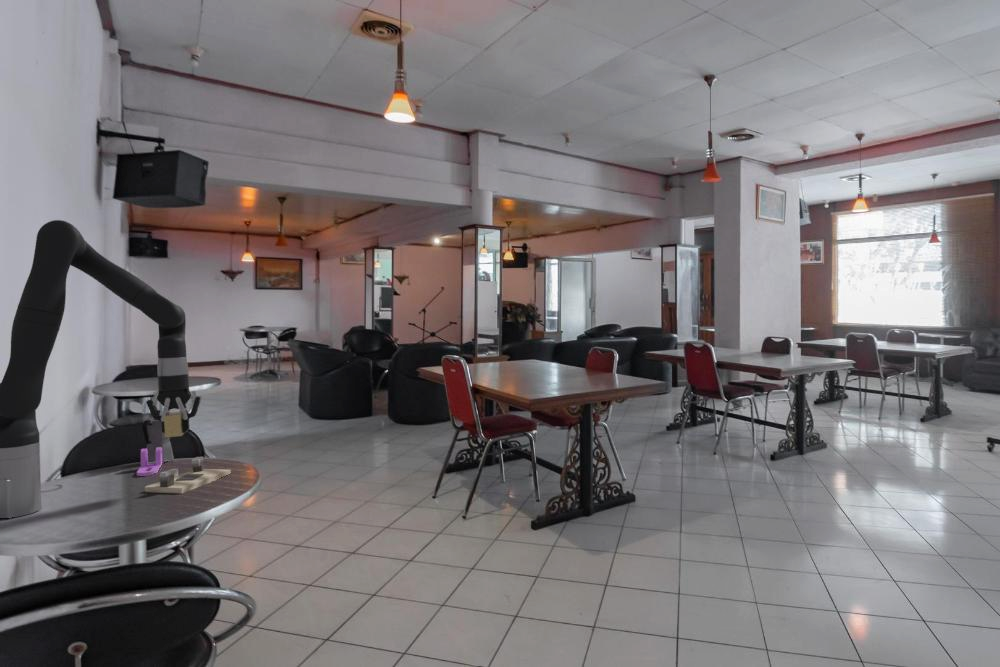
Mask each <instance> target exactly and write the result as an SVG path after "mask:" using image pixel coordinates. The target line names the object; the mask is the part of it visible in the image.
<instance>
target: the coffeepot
mask: <svg viewBox="0 0 1000 667" xmlns="http://www.w3.org/2000/svg"><path fill="white" fill-rule="evenodd" d="M158 412H159V414H160V415H161V410H160V409H158ZM141 428H142V429H141V430H142V433H143V436H144V440H145V443H146V448H147V451H148V462H154V461H156V448H157V447H162V461H164V460H173V461H174V459H175V456H174V453H173V447H172V443H171V440H170V439H171V437H165V433H163V432H162V423H161V421H160V420H154V418H153V416H150V417H147V418H144V419H142V425H141ZM146 448H145V449H146Z"/></svg>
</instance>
